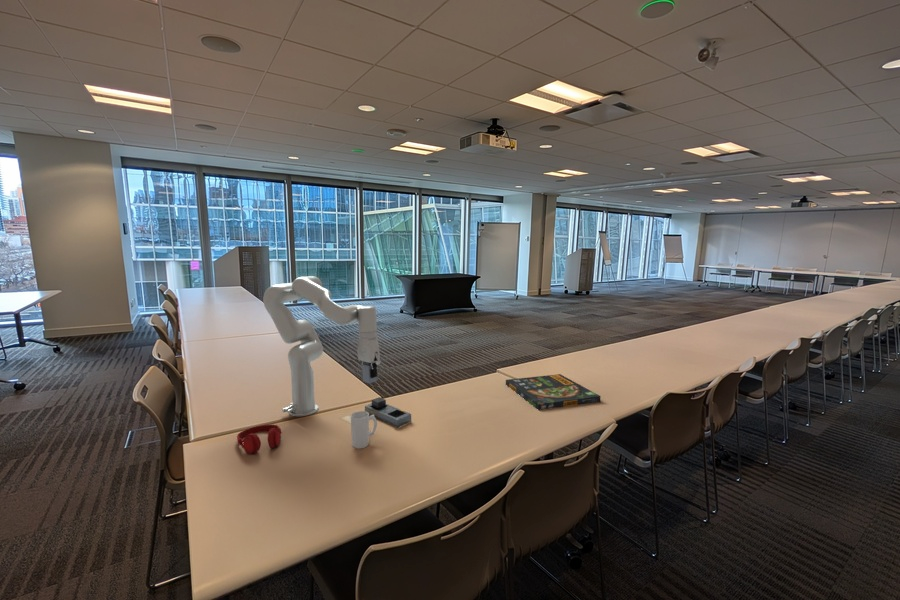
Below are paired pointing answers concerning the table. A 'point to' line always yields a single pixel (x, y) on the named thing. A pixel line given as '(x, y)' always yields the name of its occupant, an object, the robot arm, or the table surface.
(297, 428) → the table surface
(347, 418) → the coaster
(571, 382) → the pizza box
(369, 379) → the plug
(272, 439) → the headphones
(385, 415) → the pdu strip
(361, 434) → the mug
